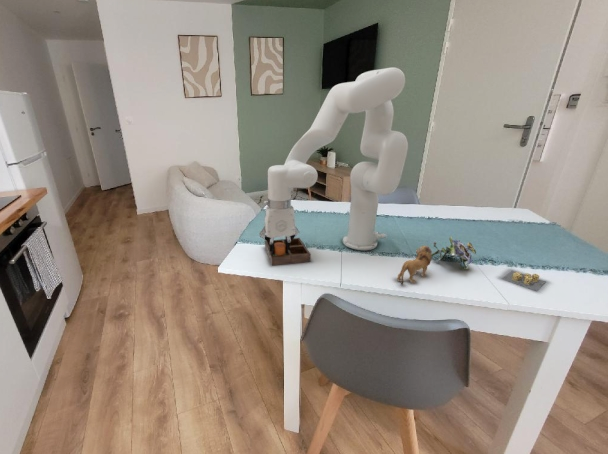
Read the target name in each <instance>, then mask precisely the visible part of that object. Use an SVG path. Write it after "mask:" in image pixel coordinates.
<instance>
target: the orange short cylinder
mask: <svg viewBox="0 0 608 454" xmlns="http://www.w3.org/2000/svg"><path fill="white" fill-rule="evenodd" d="M285 253H286V245H285V244H284V243H281V242H277V243H274V254H275V255H284V254H285Z"/></svg>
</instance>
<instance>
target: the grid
mask: <svg viewBox="0 0 608 454" xmlns="http://www.w3.org/2000/svg"><path fill="white" fill-rule="evenodd" d="M285 239H286V238H282V239H281V238H280V239H274V240H273V243H277V242H281V243H284V240H285ZM264 249H265V253H266V254H267V256H268V260H269V263H270V264H271V267H273V266H282V265H291V264H301V263H310V262H311V252H310V251H309V249H308V248H307V247H306V245H305V244H304V242H303V241H302V239H301V237H294V238H293V239H292V240H291V242H290V250H288V253H285V254H284V255H275V254H273V255H272V253H271V251H269V243H268V242H267V241H266V240H265V241H264Z"/></svg>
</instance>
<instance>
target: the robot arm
mask: <svg viewBox="0 0 608 454" xmlns="http://www.w3.org/2000/svg"><path fill="white" fill-rule="evenodd" d="M405 85H406V76H405V73H404V72H403V71H402V70H401V69H400V68H398V67H394V66H393V67H386V68H385V67H384V68H380V69H372V70H368V71H364V72H363V73H360V74H359V75H358V76H357V77H356V79H355V81H354V80H353V81H347V82H341V83H338V84H335V85H334V86H332V87H331V89H330V90H329V92H328V93H327V95H326V97H325V99H324V101H323V103H322V105H321V107H320V108H319V111H318V113H317V115H316V117H315V118H314V120H313V122H312V124H311V126H310V128H309V129H308V130H307V131H306V132H305V133H304V134H303V135H302V136H301V137H300V138H299V139H298V140H297V142H295V144H294V145H293V147H292V148H291V150H290V152H289V154H288V155H287V157H286V158H285V161H284V164H275V165H271V166H270V167H268V169H267V199H266V200H263V205H264V206H266V208H265V213H264V224H263V225H264V226H263V227H262V229H261V231H260V232H259V234H258V236H259V237H260V238H262V239H263V240H265V241H267V242H268V243H269V251H271V253H272V255H273V254H274V243H273V240H275V239H276V238H284V237H285V238H284V239H285V240H284V244H285V245H286V253H288V250H290V242H291V240H292V239H293V238H296V237H297V236H298V235H299V234H301V233H300V232H301V231H300V230H299V228H297V226H296V216H295V208H294V206H293V205H292V189H309V188H311V187H313V186H314V185H315V184H316V183H317V181H318V177H319V176H318V175H319V174H318V171H317V169H316V168H315V167H313V165H310V164H307V162H308V161H309V159H310V157H311V156H312V155H313V154H314V153H315V152H316V151H318V150H319V149H321V148H323V147H324V146H327V145H329V144H331V143H332V142H334V141H335V139H336V138H337V137H338V134H339V132H340V131H341V129H342V126H343V125H344V123H345V121H346V119H347V118H348V116H349V114H358V113H359V114H360V113H363V112H365V117H364V125H363V129H362V135H361V141H360V147H359V148H360V149H359V150H360V153H361V154H362V156H364V157H366V158H369V159H372V160H377V162H378V163H377V162H373V161H367V160H366V161H365V160H364V161H360V162H358V163H357V164H355V165H354V166H353V167H352V169H351V171H350V176H349V177H350V179H349V180H350V181H349V182H350V192H351V193H350V206H349V214H348V226H347V235H345V236H343V238H342V243H343V245H344V246H346V247H347V248H349V249H352V250H356V251H370V250H371V251H372V250H375V249H376V248H377V247H378V240H380V239H381V240H382V239H386V238H387V234H386V233H380V232H379V231H375V230H376V223H377V215H378V209H379V201H380V200H379V196H389V195H391V194H393V193H394V192H395V191H396V190H397V188H398V187H399V184H400V183H401V179H402V175H403V171H404V167H405V164H406V160H407V155H408V151H409V143H408V139H407V136H406V135H405V134H404V133H402V132H401V131H398V130H392V128H393V121H394V114H395V112H394V105H393V102H392V100H394V99H395V98H397V97H398V96H399V95H401V93H402V92H403V90H404V87H405Z"/></svg>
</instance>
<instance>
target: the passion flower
mask: <svg viewBox="0 0 608 454" xmlns="http://www.w3.org/2000/svg"><path fill="white" fill-rule="evenodd" d="M448 239H449V242H450V245H449V246H445V247H442V248H441V249H439V248H438V247H437V246H436V244H437V243H436V241H435V242H433V243H432V244H433V248H435V249H437V250H436V251H435V252H433V253H431V254H432V256H431V257H433V256H436V255H437V254H439V257H438V259H437V261H436V263H439V262H440V261H442V260H445V258H447V257H449V258H456V259H457V258H459V260H460V262H459V265H460V267H461V269H462V270H463V271H466V270H469V266H468V265H470V264H472V257H473V255H472V253H473V254H477V251H476V249H475V248H474V246H473V244H472V243H471V242H468V243H467V245H466V246H465V243H463V242H462V241H461V240H458V239H455V240H454V239H453V236H450V237H449V238H448ZM470 252H471V253H470Z"/></svg>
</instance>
